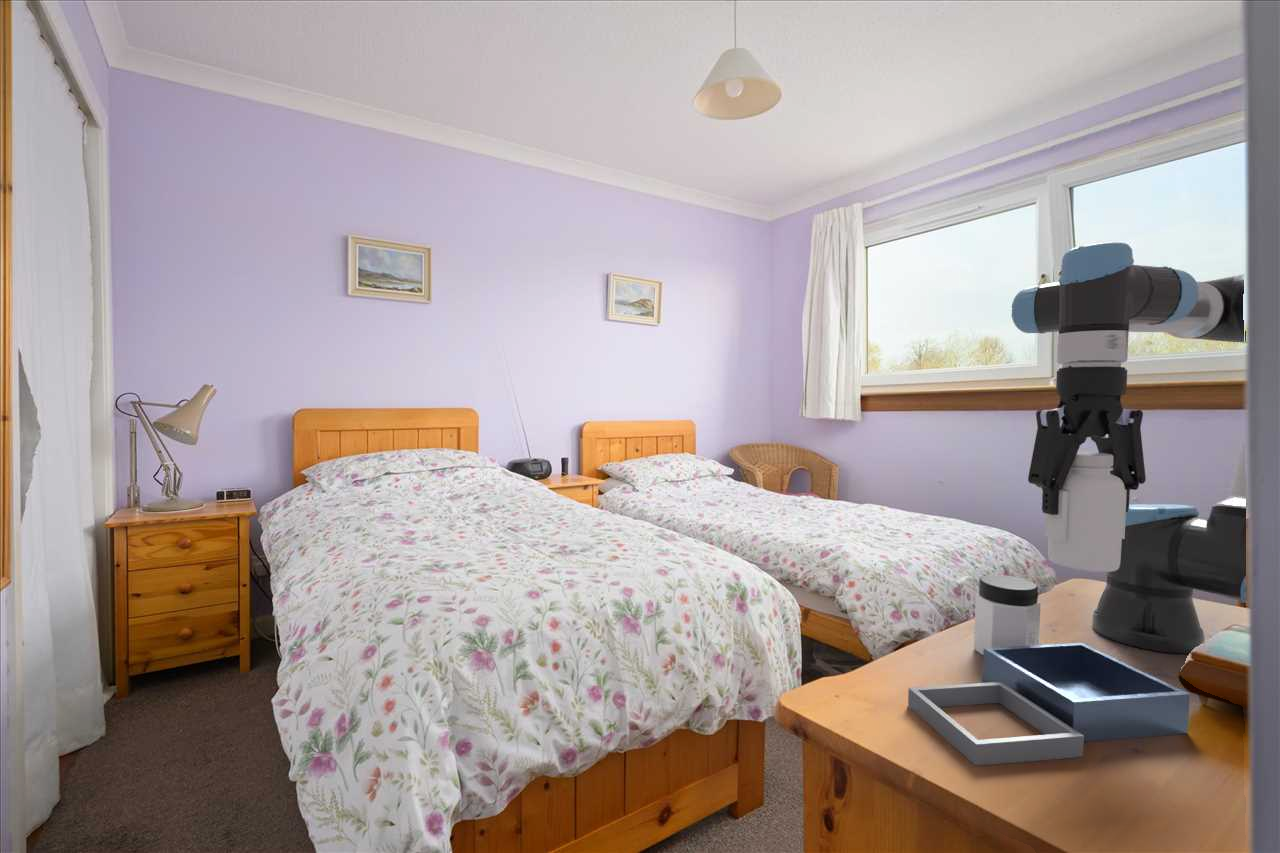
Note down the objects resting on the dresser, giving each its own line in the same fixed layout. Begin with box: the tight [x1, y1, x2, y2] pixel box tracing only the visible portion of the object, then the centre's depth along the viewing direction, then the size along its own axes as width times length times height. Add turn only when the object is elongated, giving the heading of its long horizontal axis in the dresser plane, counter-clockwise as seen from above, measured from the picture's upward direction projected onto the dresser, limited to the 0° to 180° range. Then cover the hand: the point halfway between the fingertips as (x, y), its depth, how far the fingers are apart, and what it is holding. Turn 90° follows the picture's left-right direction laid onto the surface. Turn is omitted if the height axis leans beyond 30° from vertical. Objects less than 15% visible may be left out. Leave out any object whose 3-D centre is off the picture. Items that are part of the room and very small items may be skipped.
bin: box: [981, 642, 1191, 743], centre depth 84 cm, size 16×16×5 cm
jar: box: [973, 574, 1041, 656], centre depth 100 cm, size 9×8×12 cm
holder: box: [907, 682, 1085, 767], centre depth 78 cm, size 14×14×2 cm
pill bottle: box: [1047, 450, 1125, 573], centre depth 83 cm, size 8×8×15 cm
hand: (1084, 537), depth 83 cm, fingers closed on pill bottle, 8 cm apart
